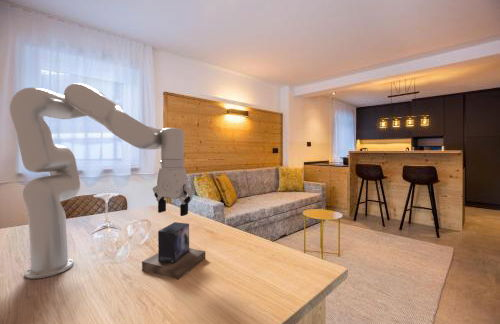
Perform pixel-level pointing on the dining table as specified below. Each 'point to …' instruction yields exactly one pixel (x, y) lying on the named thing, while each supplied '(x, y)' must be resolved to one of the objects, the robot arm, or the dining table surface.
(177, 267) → the plinth
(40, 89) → the robot arm
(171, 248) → the small box
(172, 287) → the dining table surface
